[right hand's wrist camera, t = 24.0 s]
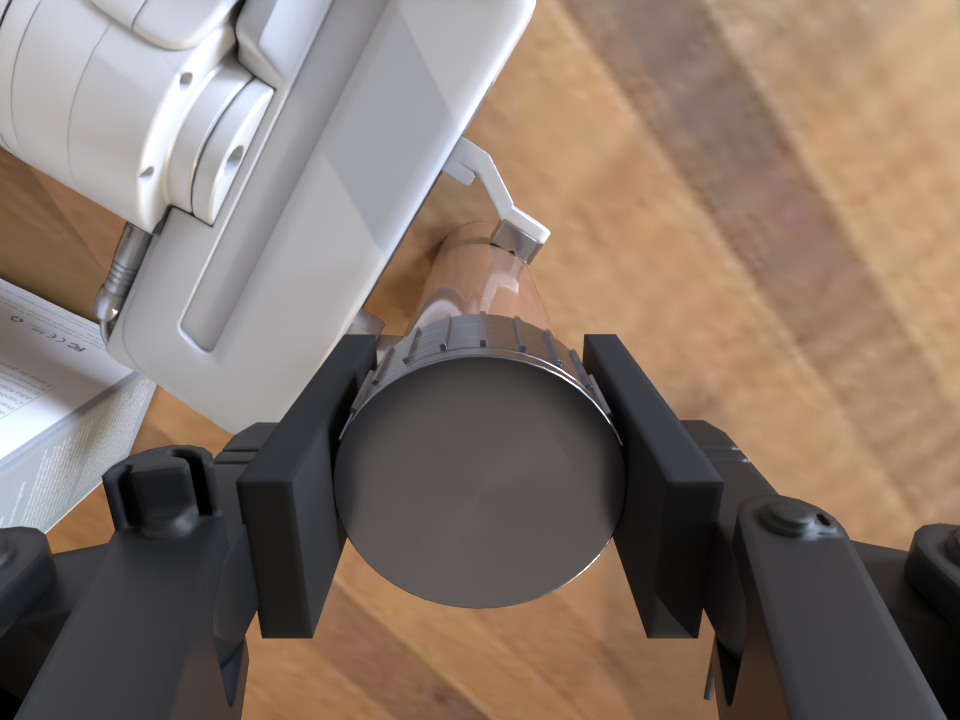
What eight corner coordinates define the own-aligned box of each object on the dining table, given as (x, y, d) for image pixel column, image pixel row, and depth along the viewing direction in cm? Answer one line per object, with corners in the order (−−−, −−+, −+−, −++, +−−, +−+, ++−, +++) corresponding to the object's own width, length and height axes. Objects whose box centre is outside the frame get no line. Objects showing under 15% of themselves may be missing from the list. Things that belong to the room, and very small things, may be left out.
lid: (537, 560, 13) (548, 646, 11) (324, 482, 12) (290, 556, 10) (647, 369, 12) (688, 423, 9) (410, 267, 11) (391, 299, 9)
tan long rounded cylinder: (497, 322, 30) (525, 593, 12) (421, 284, 29) (324, 507, 11) (539, 247, 29) (645, 419, 10) (460, 205, 28) (424, 309, 10)
